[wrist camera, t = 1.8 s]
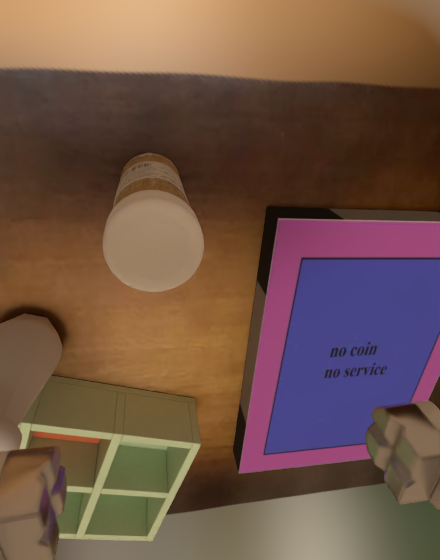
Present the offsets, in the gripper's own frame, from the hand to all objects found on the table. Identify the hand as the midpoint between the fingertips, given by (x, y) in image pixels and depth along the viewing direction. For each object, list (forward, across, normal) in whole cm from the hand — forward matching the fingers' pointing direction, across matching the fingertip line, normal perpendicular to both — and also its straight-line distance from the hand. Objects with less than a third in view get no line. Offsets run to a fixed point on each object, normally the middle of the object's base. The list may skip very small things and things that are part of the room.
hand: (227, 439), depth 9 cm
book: (+22, -18, +16) cm, 33 cm away
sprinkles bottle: (+23, +2, -2) cm, 23 cm away
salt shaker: (+23, +12, +12) cm, 28 cm away
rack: (+22, +12, +25) cm, 35 cm away
